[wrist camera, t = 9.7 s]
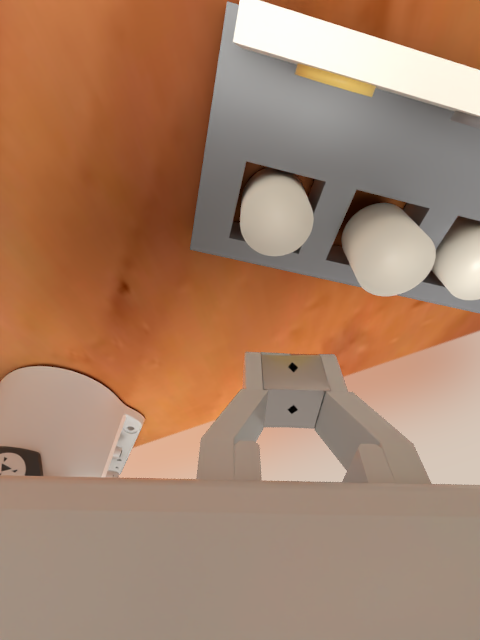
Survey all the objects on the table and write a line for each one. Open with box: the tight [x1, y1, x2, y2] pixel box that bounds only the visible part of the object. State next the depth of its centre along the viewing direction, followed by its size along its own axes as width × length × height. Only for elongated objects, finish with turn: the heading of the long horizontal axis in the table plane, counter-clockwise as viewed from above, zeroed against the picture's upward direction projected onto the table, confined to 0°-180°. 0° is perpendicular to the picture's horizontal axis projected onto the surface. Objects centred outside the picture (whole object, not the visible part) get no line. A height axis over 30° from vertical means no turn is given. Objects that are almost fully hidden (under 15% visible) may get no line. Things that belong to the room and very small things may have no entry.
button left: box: [240, 167, 314, 256], centre depth 22 cm, size 4×4×4 cm
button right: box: [431, 217, 480, 300], centre depth 23 cm, size 4×4×4 cm
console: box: [190, 0, 480, 313], centre depth 19 cm, size 13×24×12 cm, turn 77°
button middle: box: [341, 203, 436, 296], centre depth 21 cm, size 4×4×4 cm
